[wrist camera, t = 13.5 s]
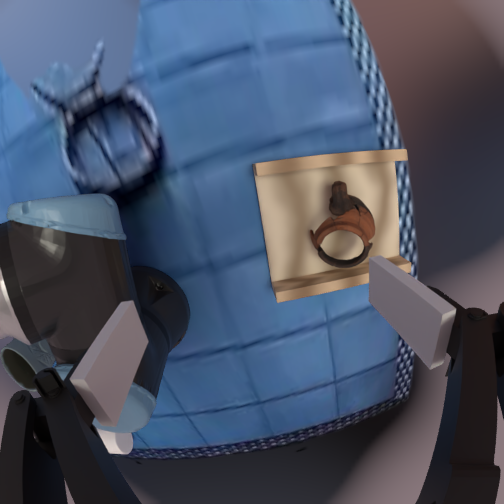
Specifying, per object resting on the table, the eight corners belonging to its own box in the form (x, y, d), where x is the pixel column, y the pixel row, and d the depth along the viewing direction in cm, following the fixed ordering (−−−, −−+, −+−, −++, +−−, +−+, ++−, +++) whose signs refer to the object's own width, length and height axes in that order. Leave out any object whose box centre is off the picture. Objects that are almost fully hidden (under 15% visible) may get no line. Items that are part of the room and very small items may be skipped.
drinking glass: (33, 348, 45) (7, 379, 33) (26, 310, 42) (-6, 340, 30) (68, 363, 46) (45, 399, 35) (62, 324, 43) (32, 360, 32)
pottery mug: (376, 232, 41) (381, 268, 36) (321, 241, 46) (316, 277, 40) (362, 163, 35) (367, 191, 29) (298, 177, 39) (290, 206, 33)
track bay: (272, 288, 44) (277, 302, 39) (252, 164, 38) (255, 163, 33) (395, 261, 44) (410, 271, 39) (389, 149, 38) (406, 149, 34)
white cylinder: (135, 436, 54) (129, 460, 46) (105, 435, 54) (98, 457, 46) (111, 405, 50) (101, 430, 43) (80, 406, 50) (69, 428, 43)
